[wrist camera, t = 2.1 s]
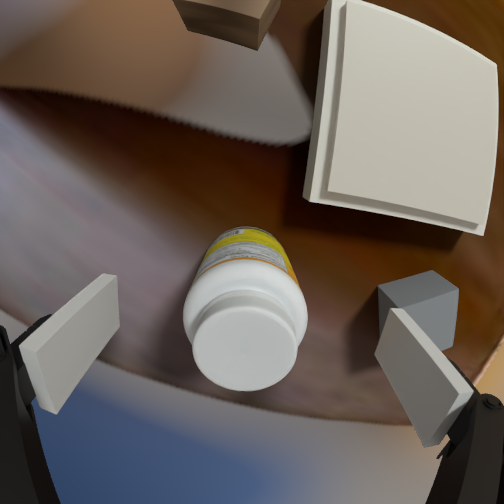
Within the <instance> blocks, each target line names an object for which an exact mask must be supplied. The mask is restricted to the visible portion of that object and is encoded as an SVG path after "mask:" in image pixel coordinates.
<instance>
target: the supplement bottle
mask: <svg viewBox="0 0 504 504" xmlns="http://www.w3.org/2000/svg"><path fill="white" fill-rule="evenodd" d="M307 319H308V315H307V307H306V303H305V299H304V297H303V294H302V291H301V289H300V286H299V284H298V281H297V279H296V276H295V273H294V272H293V269H292V267H291V264H290V262H289V260H288V257H287V255H286V252H285V250H284V248H283V247H282V245H281V244H280V243H279V241H278V240H277V239H276V238H275V237H273V236H272V235H271V234H269V233H268V232H266V231H264V230H261V229H258V228H254V227H238V228H234V229H231V230H228V231H226V232H224V233H223V234H221V235H220V236H219V237H217V238H216V239H215V240H214V242H213V243H212V244H211V245H210V247H209V249H208V250H207V252H206V255H205V257H204V259H203V261H202V263H201V265H200V267H199V269H198V272H197V274H196V276H195V278H194V280H193V283H192V285H191V287H190V289H189V292H188V294H187V297H186V300H185V304H184V309H183V323H184V328H185V332H186V334H187V337H188V339H189V341H190V343H191V344H192V351H193V356H194V360H195V362H196V364H197V366H198V368H199V369H200V371H201V372H202V373H203V374H204V375H205V376H206V377H207V378H208V379H209V380H211V381H212V382H214V383H215V384H217V385H220V386H222V387H224V388H228V389H231V390H236V391H255V390H260V389H264V388H267V387H269V386H271V385H273V384H275V383H277V382H279V381H280V380H281V379H283V378H284V377H285V376H286V375H287V374H288V373H289V371H290V370H291V369H292V367H293V365H294V363H295V360H296V357H297V347H298V346H299V344H300V343H301V341H302V339H303V337H304V334H305V331H306V327H307Z"/></svg>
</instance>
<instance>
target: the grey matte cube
mask: <svg viewBox="0 0 504 504" xmlns="http://www.w3.org/2000/svg"><path fill="white" fill-rule="evenodd" d="M458 294H459V288H457V287H456V286H454V285H453V284H452V283H450V282H449V281H447V280H446V279H444V278H443V277H442V276H440V275H439V274H437V273H436V272H434V271H433V270H431V271H427V272H424V273H421V274H417V275H414V276H410V277H407V278H403V279H400V280H396V281H393V282H389V283H385V284H382V285H378V302H379V337H381V334H382V331H383V328H384V325H385V322H386V319H387V316H388V313H389V310H390V308H399V309H404V311H405V312H406V313H407V314H408V315H409V316H410V317H411V318H412V319H413V320H414V321H415V323H416V324H417V325H418V326H419V327H420V328H421V329H422V330H423V331H424V333H425V334H426V335H427V336H428V337H429V338H430V339H431V341H432V342H433V343H434V344H435V345H436V346H437V347H438V349H439V350H440V351H442V350H445V349H447V348H449V347H452V346H453V340H454V332H455V325H456V316H457V306H458Z"/></svg>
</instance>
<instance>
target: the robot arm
mask: <svg viewBox="0 0 504 504" xmlns="http://www.w3.org/2000/svg"><path fill="white" fill-rule="evenodd" d="M119 327H120V322H119V309H118V291H117V276H116V275H110V274H104V273H103V274H102V275H100V276H99V277H98V278H97V279H95V280H94V281H93V282H92V283H90V284H89V285H88V286H87V287H86V288H84V289H83V290H82V291H81V292H79V293H78V294H77V295H76V296H75V297H73V298H72V299H71V300H70V301H69V302H67V303H66V304H65V305H64V306H63V307H62V308H60V309H59V310H58V311H57V312H56V313H55V314H53V315H51V314H49V315H47V316H44V317H42V318H40V319H39V320H38V321H36V322H35V323H34V324H33V326H31V327H29V328H28V329H27V331H25V332H24V333H23V334H21V335H20V336H19V337H18V338H17V339H16V340H15V341H14V342H13V343H11V344H10V342H9V339H8V335H7V332H6V329H5V328H4V327H3V326H1V325H0V504H61V503H60V501H59V498H58V495H57V493H56V490H55V487H54V484H53V482H52V479H51V475H50V472H49V469H48V466H47V463H46V459H45V456H44V452H43V449H42V445H41V441H40V437H39V433H38V428H37V424H36V419H35V414H34V410H33V407H32V404H31V402H32V400H33V399H34V398H35V396H36V398H37V400H38V403H39V406H40V408H42V409H45V410H47V411H49V412H52V413H54V414H57V413H58V412H59V410H60V409H61V407H62V406H63V405H64V403H65V402H66V400H67V399H68V397H69V396H70V394H71V393H72V391H73V390H74V388H75V387H76V385H77V384H78V383H79V381H80V380H81V378H82V377H83V376H84V374H85V373H86V371H87V370H88V369H89V367H90V366H91V364H92V363H93V362H94V360H95V359H96V358H97V356H98V355H99V353H100V352H101V351H102V349H103V348H104V347H105V345H106V344H107V343H108V341H109V340H110V339H111V337H112V336H113V335H114V333H115V332H116V331H117V329H118V328H119ZM374 355H375V357H376V359H377V360H378V362H379V364H380V366H381V367H382V369H383V371H384V373H385V375H386V376H387V378H388V380H389V382H390V384H391V385H392V387H393V389H394V391H395V393H396V395H397V397H398V398H399V400H400V402H401V404H402V406H403V408H404V410H405V412H406V413H407V415H408V417H409V419H410V421H411V423H412V425H413V427H414V429H415V431H416V433H417V435H418V437H419V439H420V440H421V443H422V445H423V446H424V448H425V447H430V446H434V445H439V444H440V442H441V441H442V440H443V438H444V437H445V435H446V434H448V436H449V438H450V440H449V442H448V443H447V444H446V446H445V447H444V448H443V450H442V451H441V452H440V454H439V455H438V456H437V459H439V458H440V456H442V455H443V457H442V460H441V463H440V466H439V469H438V472H437V475H436V478H435V480H434V483H433V486H432V488H431V491H430V493H429V496H428V498H427V501H426V503H425V504H504V406H503V404H502V403H501V401H500V400H499V399H498V398H497V397H495V396H493V395H491V394H480V393H479V392H478V390H477V389H476V388H475V387H474V385H473V384H472V383H471V382H470V381H469V379H468V378H467V377H465V375H464V373H463V372H462V371H460V369H459V367H458V366H457V365H456V364H455V363H454V362H453V361H451V360H450V359H448V358H447V357H445V356H444V354H443V353H442V352H441V351H440V350H439V349H438V347H437V346H436V345H435V344H434V343H433V342H432V341H431V339H430V338H429V337H428V336H427V335H426V334H425V333H424V331H423V330H422V329H421V328H420V327H419V326H418V325H417V324H416V323H415V321H414V320H413V319H412V318H411V317H410V316H409V315H408V314H407V313H406V312H405V311H404V309H399V308H390V310H389V313H388V316H387V319H386V322H385V325H384V328H383V331H382V334H381V337H380V340H379V343H378V346H377V348H376V351H375V354H374Z"/></svg>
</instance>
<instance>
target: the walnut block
mask: <svg viewBox="0 0 504 504" xmlns="http://www.w3.org/2000/svg"><path fill="white" fill-rule="evenodd" d="M173 2H174V4H175V6H176V8H177V10H178V12H179V14H180V16H181V18H182V20H183V22H184V24H185V26H186V27H187V30H188V31H191V32H195V33H199V34H203V35H207V36H210V37H214V38H218V39H221V40H225V41H228V42H231V43H235V44H238V45H241V46H244V47H247V48H250V49H253V50H256V51H258V49H259V47H260V45H261V43H262V41H263V39H264V37H265V35H266V33H267V31H268V29H269V27H270V25H271V23H272V21H273V19H274V17H275V15H276V13H277V11H278V10H279V8H280V3H281V0H173Z"/></svg>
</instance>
